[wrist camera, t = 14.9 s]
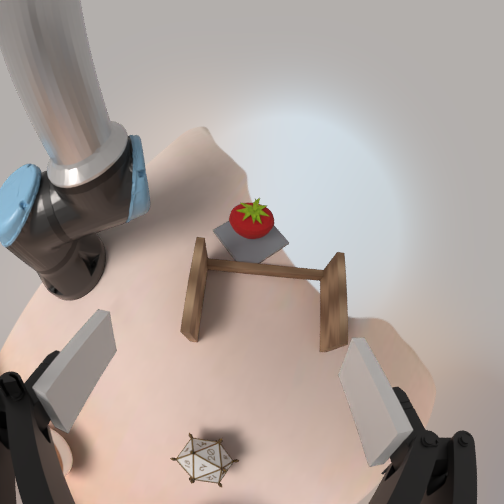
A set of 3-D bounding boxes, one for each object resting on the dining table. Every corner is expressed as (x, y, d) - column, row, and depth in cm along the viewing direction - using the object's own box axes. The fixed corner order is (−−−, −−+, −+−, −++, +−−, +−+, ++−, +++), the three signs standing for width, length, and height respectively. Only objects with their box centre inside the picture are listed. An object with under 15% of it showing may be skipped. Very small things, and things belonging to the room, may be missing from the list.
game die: (199, 441, 37) (172, 418, 32) (247, 448, 35) (228, 427, 30) (186, 485, 29) (153, 471, 24) (237, 496, 27) (213, 486, 22)
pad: (213, 231, 51) (213, 229, 50) (256, 207, 54) (256, 205, 53) (244, 272, 47) (244, 271, 47) (288, 244, 51) (288, 242, 50)
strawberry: (232, 220, 52) (232, 185, 43) (272, 225, 51) (279, 191, 43) (226, 247, 49) (225, 215, 40) (268, 253, 49) (276, 222, 40)
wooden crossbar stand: (326, 351, 42) (347, 344, 34) (190, 341, 41) (180, 331, 33) (326, 274, 48) (344, 252, 40) (202, 262, 48) (196, 237, 40)
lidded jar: (30, 436, 28) (1, 439, 20) (56, 413, 32) (26, 414, 24) (63, 481, 25) (36, 492, 17) (92, 461, 29) (66, 473, 21)
